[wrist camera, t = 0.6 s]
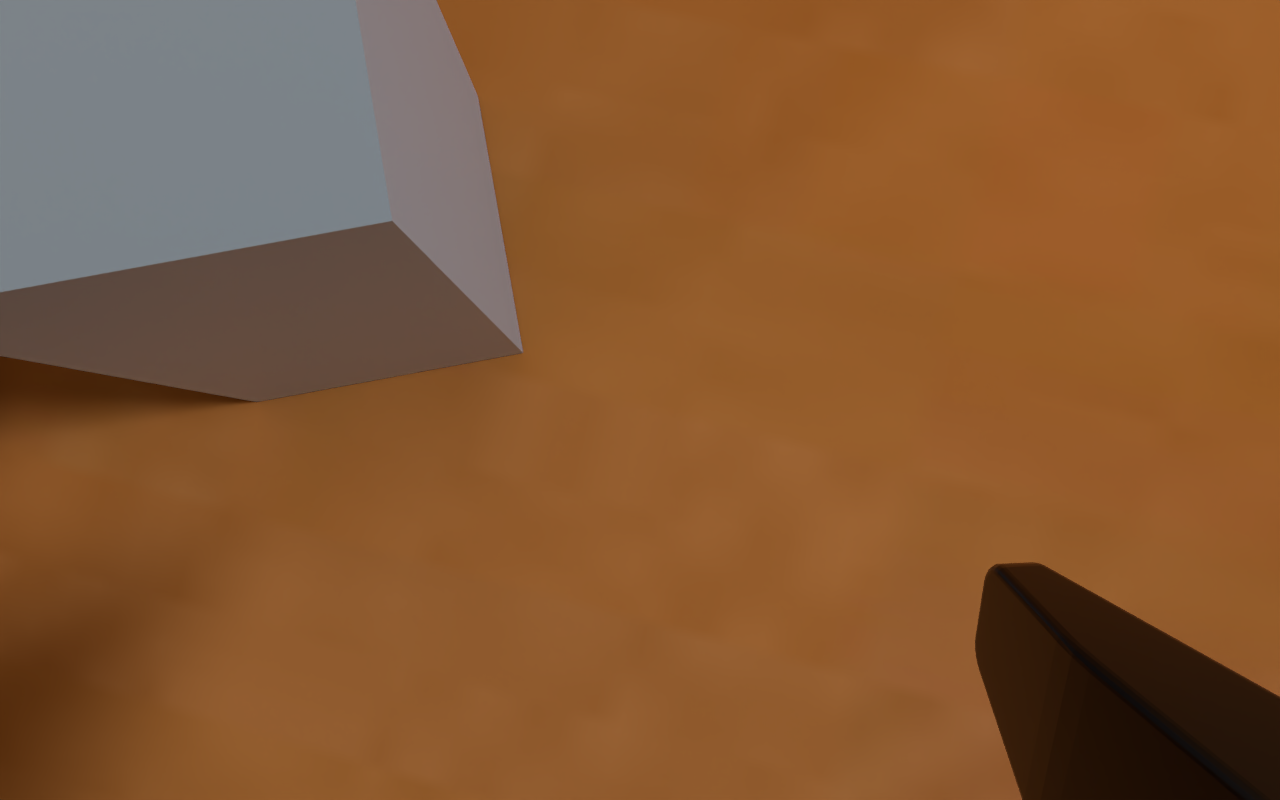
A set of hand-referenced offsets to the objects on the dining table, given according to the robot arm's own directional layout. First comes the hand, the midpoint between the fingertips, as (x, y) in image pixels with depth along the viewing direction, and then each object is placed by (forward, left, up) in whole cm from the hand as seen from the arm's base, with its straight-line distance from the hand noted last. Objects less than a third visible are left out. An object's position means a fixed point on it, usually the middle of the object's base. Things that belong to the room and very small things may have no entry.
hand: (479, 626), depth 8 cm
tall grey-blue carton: (+5, +7, -13) cm, 15 cm away
